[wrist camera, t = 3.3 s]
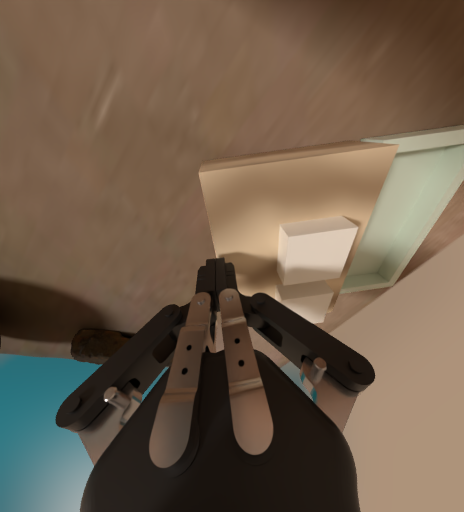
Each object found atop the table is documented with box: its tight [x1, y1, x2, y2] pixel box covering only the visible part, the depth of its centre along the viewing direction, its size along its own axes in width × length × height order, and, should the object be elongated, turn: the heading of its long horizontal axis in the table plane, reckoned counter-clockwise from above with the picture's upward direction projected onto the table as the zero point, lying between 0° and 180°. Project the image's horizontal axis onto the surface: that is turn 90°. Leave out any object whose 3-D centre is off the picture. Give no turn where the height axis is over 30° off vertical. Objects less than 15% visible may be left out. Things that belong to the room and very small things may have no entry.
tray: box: [339, 125, 464, 294], centre depth 19 cm, size 18×9×2 cm, turn 6°
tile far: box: [275, 280, 334, 324], centre depth 19 cm, size 5×5×2 cm
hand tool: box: [71, 330, 174, 367], centre depth 29 cm, size 19×4×5 cm, turn 56°
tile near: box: [277, 216, 358, 286], centre depth 14 cm, size 5×5×2 cm
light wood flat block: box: [199, 141, 399, 313], centre depth 18 cm, size 18×13×5 cm
